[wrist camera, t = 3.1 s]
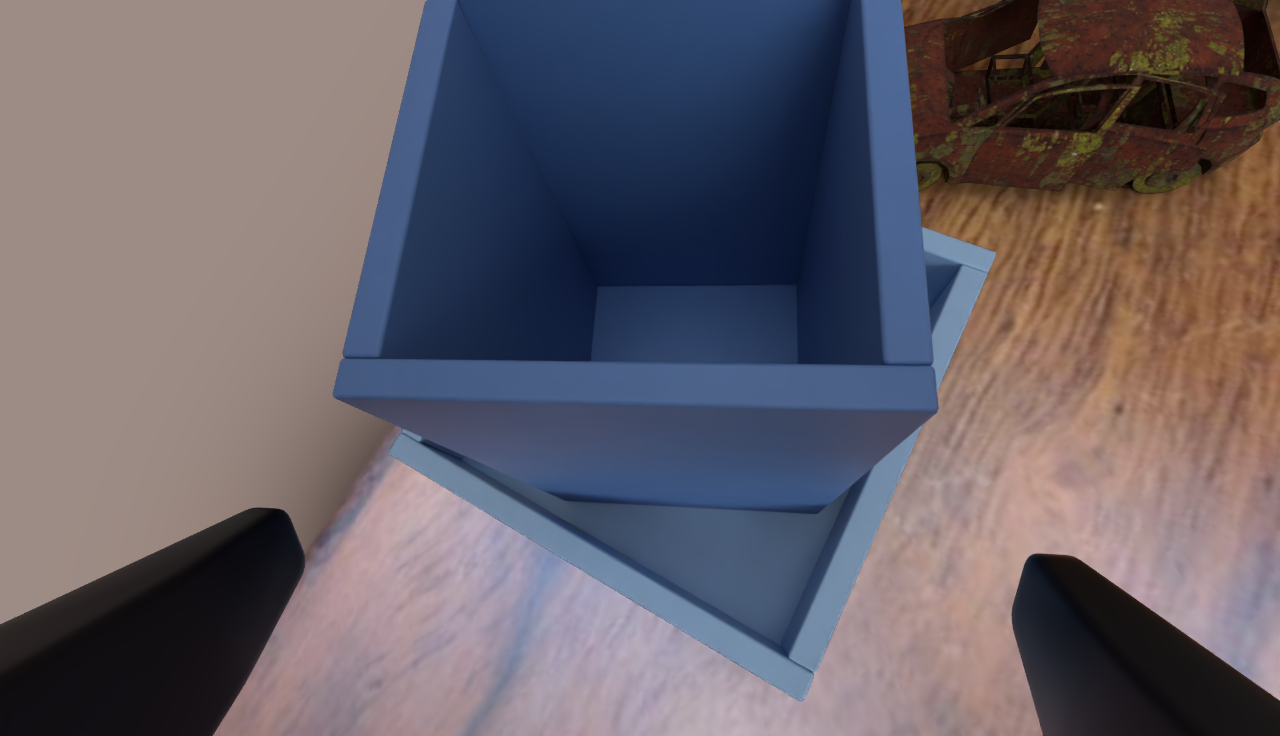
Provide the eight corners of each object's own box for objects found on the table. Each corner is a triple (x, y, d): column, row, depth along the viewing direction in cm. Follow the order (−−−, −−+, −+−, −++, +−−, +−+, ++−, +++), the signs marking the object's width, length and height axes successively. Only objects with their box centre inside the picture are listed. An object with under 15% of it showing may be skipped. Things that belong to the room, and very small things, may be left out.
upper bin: (818, 514, 15) (940, 412, 6) (563, 500, 16) (329, 397, 7) (812, 277, 17) (896, -75, 8) (587, 279, 18) (429, -27, 9)
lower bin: (783, 664, 17) (802, 703, 12) (482, 487, 21) (386, 452, 15) (924, 344, 20) (997, 251, 14) (636, 228, 23) (602, 115, 17)
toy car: (1187, 45, 22) (1306, -97, 17) (1226, 215, 20) (1373, 105, 15) (837, 59, 24) (860, -64, 19) (837, 214, 22) (862, 117, 17)
